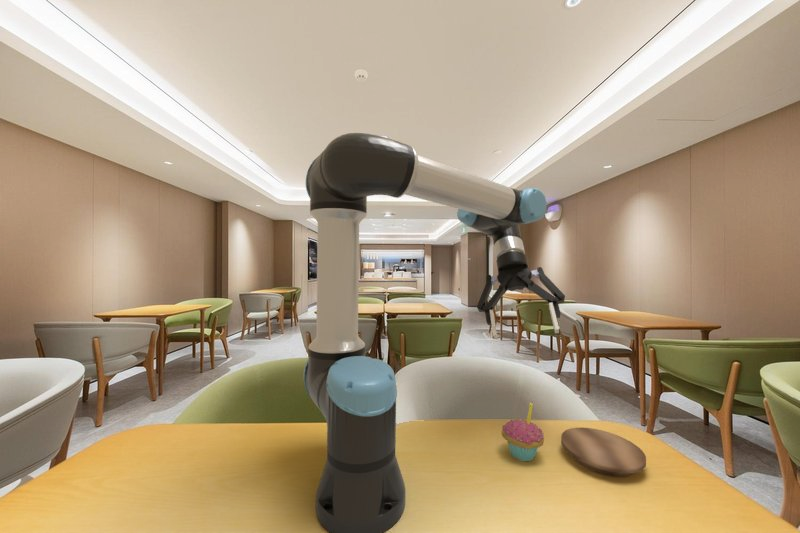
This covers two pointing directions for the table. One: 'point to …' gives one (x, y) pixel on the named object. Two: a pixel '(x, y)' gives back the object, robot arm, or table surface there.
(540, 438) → the cupcake
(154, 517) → the table surface
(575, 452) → the brown plate
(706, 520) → the table surface
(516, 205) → the robot arm
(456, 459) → the table surface
